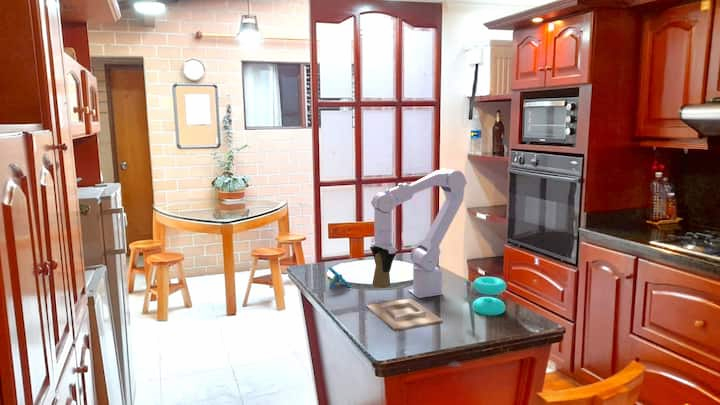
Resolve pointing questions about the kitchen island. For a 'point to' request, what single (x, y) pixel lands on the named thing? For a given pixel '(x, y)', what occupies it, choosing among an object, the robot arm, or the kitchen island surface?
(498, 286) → the donuts
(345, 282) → the teal angled piece
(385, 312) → the socket board
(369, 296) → the kitchen island surface
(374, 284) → the cork
